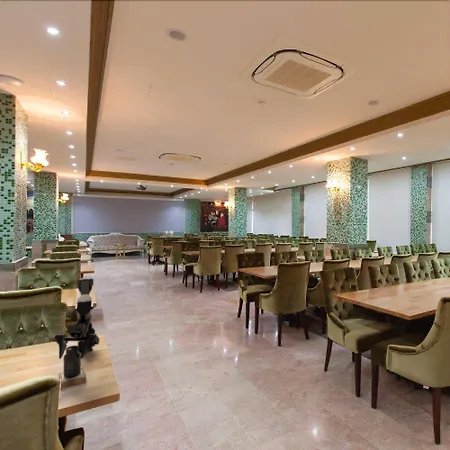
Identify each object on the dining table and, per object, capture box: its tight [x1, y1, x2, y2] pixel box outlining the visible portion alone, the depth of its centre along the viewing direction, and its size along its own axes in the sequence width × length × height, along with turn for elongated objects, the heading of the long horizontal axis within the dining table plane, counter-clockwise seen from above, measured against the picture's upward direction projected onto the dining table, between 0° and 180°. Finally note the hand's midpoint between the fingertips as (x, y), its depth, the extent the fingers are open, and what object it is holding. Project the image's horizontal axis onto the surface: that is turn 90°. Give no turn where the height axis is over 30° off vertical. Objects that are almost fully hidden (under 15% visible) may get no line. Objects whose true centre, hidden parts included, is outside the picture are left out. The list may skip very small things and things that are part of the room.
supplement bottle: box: [62, 345, 82, 378], centre depth 130 cm, size 7×7×12 cm
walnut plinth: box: [58, 367, 87, 390], centre depth 130 cm, size 10×10×3 cm
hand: (70, 358), depth 128 cm, fingers open, 9 cm apart
